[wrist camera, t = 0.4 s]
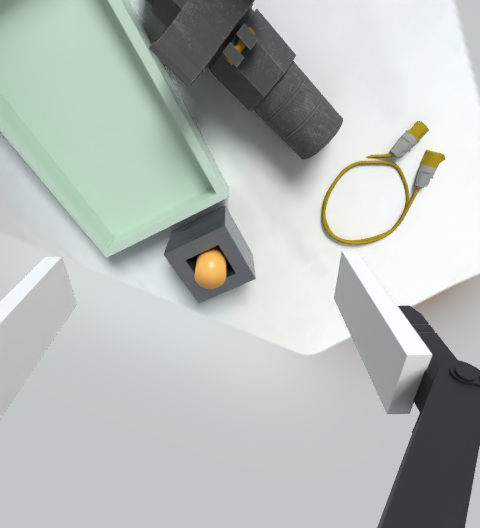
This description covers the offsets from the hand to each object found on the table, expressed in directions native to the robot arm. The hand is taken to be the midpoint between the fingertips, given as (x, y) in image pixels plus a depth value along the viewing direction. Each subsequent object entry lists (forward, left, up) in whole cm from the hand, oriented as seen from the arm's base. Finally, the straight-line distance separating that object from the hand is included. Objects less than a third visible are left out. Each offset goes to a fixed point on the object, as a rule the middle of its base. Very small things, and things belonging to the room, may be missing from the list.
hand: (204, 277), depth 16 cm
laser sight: (-7, +7, -27) cm, 28 cm away
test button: (+10, -6, -23) cm, 26 cm away
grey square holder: (+10, -6, -26) cm, 29 cm away
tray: (-9, -9, -26) cm, 29 cm away
